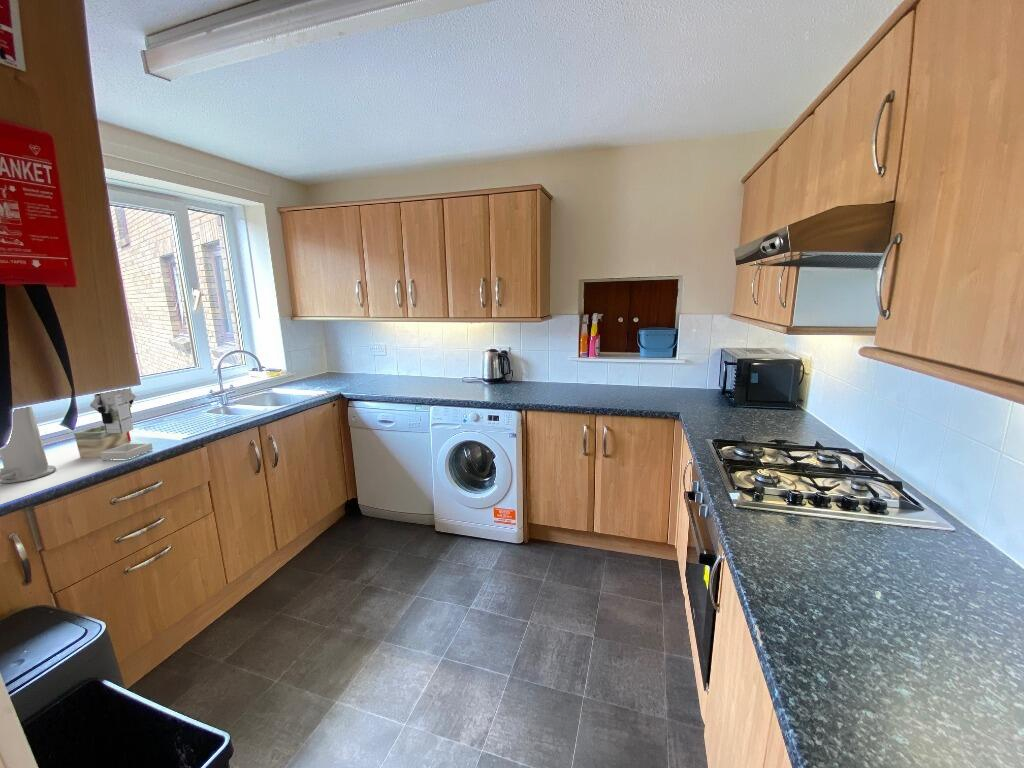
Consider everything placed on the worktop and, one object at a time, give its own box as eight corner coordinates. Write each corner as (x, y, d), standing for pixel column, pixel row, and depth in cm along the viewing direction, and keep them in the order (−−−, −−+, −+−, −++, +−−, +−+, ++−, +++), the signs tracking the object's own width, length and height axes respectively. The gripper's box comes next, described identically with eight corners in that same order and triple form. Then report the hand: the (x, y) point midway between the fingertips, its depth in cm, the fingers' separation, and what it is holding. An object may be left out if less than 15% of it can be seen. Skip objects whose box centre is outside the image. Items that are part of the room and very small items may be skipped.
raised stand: (104, 457, 159) (98, 432, 157) (80, 457, 159) (74, 433, 157) (130, 447, 168) (124, 424, 166) (106, 448, 169) (101, 425, 167)
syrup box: (134, 429, 160) (127, 392, 158) (122, 434, 155) (115, 395, 152) (117, 430, 160) (110, 392, 157) (105, 434, 154) (97, 396, 151)
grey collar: (128, 460, 154) (126, 452, 153) (102, 460, 155) (100, 452, 154) (153, 450, 164) (151, 443, 163) (128, 450, 165) (127, 443, 164)
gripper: (93, 376, 144) (103, 427, 148) (140, 369, 161) (148, 414, 165) (73, 377, 145) (83, 427, 148) (122, 369, 162) (130, 415, 165)
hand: (117, 420), depth 156 cm, fingers closed on syrup box, 6 cm apart
